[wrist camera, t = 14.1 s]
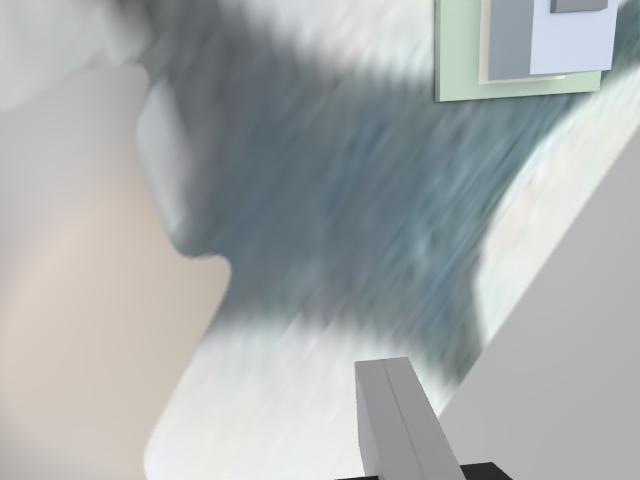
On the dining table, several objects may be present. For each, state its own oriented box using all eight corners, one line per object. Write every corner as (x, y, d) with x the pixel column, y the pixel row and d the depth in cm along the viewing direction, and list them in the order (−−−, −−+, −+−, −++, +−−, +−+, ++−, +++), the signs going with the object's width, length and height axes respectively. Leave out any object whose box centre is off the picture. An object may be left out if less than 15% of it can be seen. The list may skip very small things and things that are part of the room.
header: (435, -82, 31) (463, -118, 26) (606, -90, 32) (664, -128, 27) (434, 101, 35) (459, 100, 30) (589, 91, 35) (638, 88, 30)
